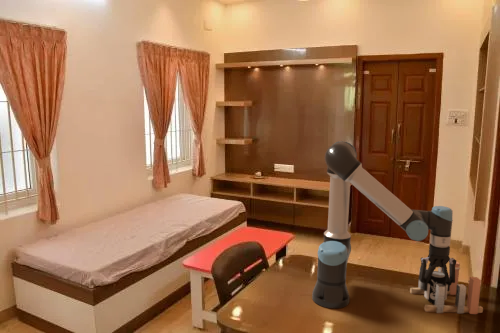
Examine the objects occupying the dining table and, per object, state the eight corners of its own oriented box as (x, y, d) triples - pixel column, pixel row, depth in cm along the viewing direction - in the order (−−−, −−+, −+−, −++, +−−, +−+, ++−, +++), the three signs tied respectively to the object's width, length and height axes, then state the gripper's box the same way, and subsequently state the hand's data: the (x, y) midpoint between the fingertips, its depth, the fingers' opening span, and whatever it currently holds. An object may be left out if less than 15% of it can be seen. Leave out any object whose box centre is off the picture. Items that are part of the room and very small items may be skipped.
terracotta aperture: (470, 314, 152) (473, 280, 150) (447, 291, 170) (449, 261, 168) (477, 314, 152) (480, 280, 150) (453, 291, 170) (456, 261, 168)
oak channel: (425, 311, 153) (426, 306, 153) (409, 291, 170) (410, 287, 169) (482, 312, 153) (483, 308, 153) (460, 292, 169) (461, 288, 169)
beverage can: (446, 305, 158) (449, 277, 156) (430, 305, 158) (432, 277, 156) (439, 297, 164) (441, 270, 163) (423, 297, 165) (425, 270, 163)
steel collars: (436, 313, 152) (439, 286, 151) (417, 291, 171) (419, 267, 169) (463, 313, 152) (466, 287, 150) (441, 291, 170) (444, 267, 169)
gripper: (419, 247, 154) (415, 302, 158) (469, 248, 154) (463, 302, 157) (411, 241, 162) (408, 293, 165) (459, 241, 161) (454, 294, 165)
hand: (435, 297), depth 161 cm, fingers closed on beverage can, 6 cm apart
